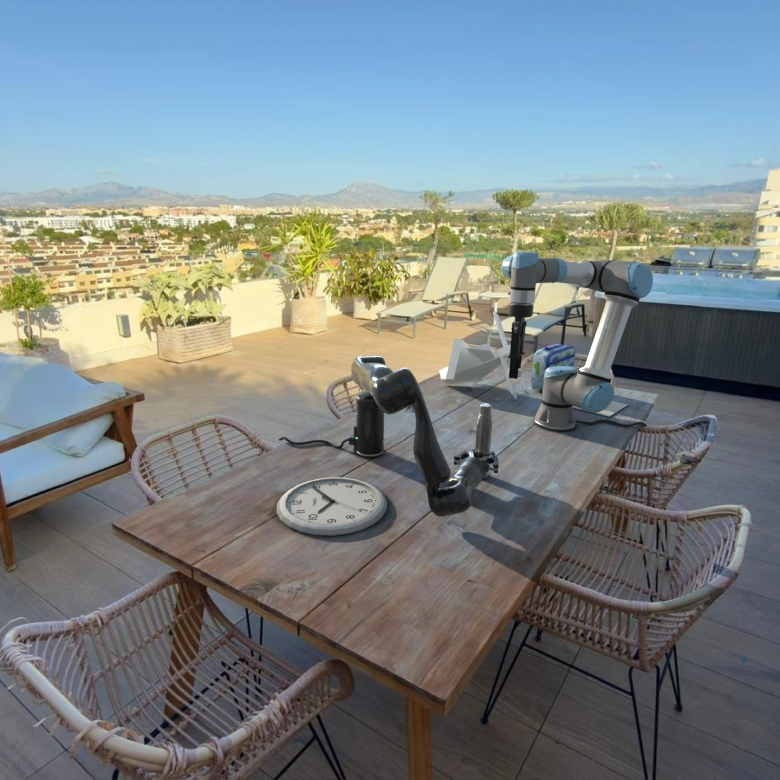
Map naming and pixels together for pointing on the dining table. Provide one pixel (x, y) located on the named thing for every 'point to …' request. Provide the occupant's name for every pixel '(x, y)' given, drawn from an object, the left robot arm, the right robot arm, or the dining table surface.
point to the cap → (518, 372)
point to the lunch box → (550, 362)
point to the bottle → (483, 433)
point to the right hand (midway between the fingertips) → (514, 376)
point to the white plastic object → (479, 362)
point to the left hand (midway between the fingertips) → (484, 452)
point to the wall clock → (331, 506)
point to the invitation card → (610, 408)
